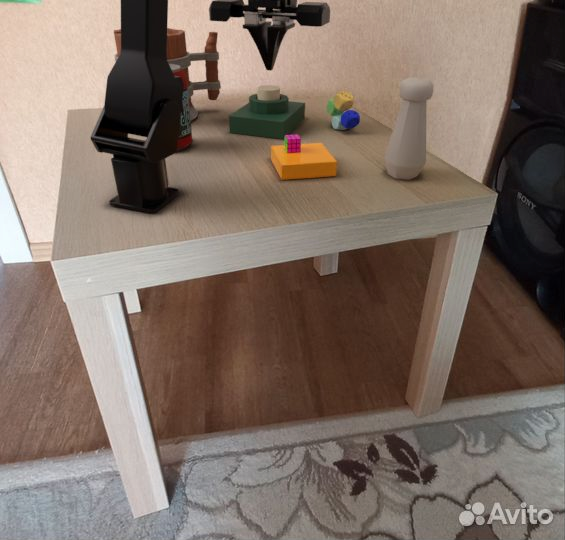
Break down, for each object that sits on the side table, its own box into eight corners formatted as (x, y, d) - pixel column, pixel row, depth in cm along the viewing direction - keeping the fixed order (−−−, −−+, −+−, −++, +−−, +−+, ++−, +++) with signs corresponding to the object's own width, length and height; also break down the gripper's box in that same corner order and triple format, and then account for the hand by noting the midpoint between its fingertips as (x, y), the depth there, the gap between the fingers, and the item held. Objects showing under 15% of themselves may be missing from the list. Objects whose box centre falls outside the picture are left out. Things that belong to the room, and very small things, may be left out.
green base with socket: (283, 139, 80) (283, 109, 77) (229, 132, 82) (228, 103, 80) (304, 118, 90) (305, 91, 87) (256, 113, 93) (255, 87, 90)
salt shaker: (423, 183, 65) (442, 85, 58) (381, 180, 66) (395, 82, 59) (421, 168, 70) (439, 75, 62) (382, 165, 71) (395, 73, 63)
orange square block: (321, 156, 73) (322, 129, 71) (336, 176, 67) (338, 147, 64) (270, 159, 72) (270, 132, 69) (281, 180, 65) (281, 150, 63)
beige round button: (275, 103, 82) (275, 91, 80) (254, 101, 83) (253, 89, 81) (282, 98, 85) (283, 86, 84) (262, 96, 86) (262, 84, 85)
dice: (359, 134, 83) (363, 96, 79) (346, 135, 82) (350, 97, 78) (336, 121, 89) (339, 86, 85) (324, 123, 88) (326, 87, 84)
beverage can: (180, 155, 73) (170, 73, 66) (142, 149, 75) (129, 69, 68) (200, 141, 78) (193, 64, 72) (164, 137, 80) (154, 61, 73)
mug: (117, 112, 92) (101, 26, 84) (210, 102, 99) (205, 22, 91) (130, 132, 82) (114, 37, 73) (234, 120, 89) (230, 32, 80)
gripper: (341, -41, 74) (334, 64, 83) (233, -43, 79) (237, 57, 88) (323, -39, 66) (318, 78, 75) (203, -41, 71) (211, 69, 79)
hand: (269, 70), depth 79 cm, fingers closed
